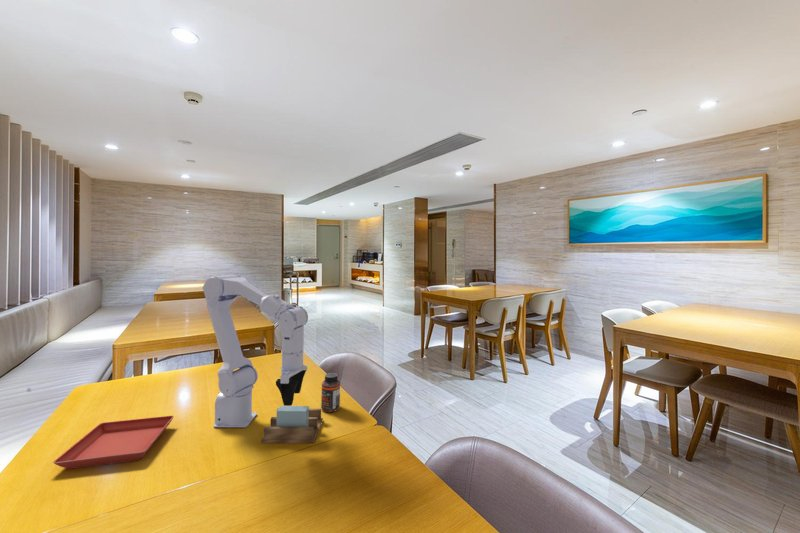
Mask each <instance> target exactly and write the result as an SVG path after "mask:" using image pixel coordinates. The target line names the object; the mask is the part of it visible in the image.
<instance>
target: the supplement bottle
mask: <svg viewBox="0 0 800 533" xmlns="http://www.w3.org/2000/svg"><path fill="white" fill-rule="evenodd" d="M320 398H321V404H320V405H321V408H320V409H321V411H322V412H325V411H326V412H325V413H332V412H331V411H334V412H336V411H335V410H337V409H338V408H339V409H340V408H341V407H340V405H341V402H340V401H341V382H340V380H339V379H338V374H337V373H336V372H327V373H326V374H325V375H324V380H323V381H322V382H321V397H320ZM339 409H338V410H339ZM338 410H337V411H338Z"/></svg>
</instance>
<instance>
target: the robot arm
mask: <svg viewBox="0 0 800 533" xmlns="http://www.w3.org/2000/svg"><path fill="white" fill-rule="evenodd" d="M202 290H203V293H204V297H205V301H206V306H207V311H208V314H209V317H210V321H211V325H212V328H213V331H214V334H215V338H216V341H217V346H218V349H219V352H220V355H221V358H222V363H223V364H222V365H221V366H220V368H219V369H218V371H217V376H218V383H217V384H218V389H219V393H218V394H217V395H216V397H215V401H214V424H213V428H247V427H248V426H249V425H250V424H251V422H252V421H253V419H255V417H256V416H257V414H258V413H257V412H253V410H252V409H253V395H252V394H253V389H254V385H255V384H256V383H257V381H258V377H259V375H258V374H259V373H258V371H257V369H256V368H255V367H254V365H253V363H252V359H249V358H247V357H245V356H244V355H243V351H242V347H241V344H240V341H239V338H238V334H237V331H236V327H235V324H234V320H233V317H232V314H231V310H230V306H231V305H232V303H233V302H234V301H236V299H238V297H239V296H241V297H243V298H245V299H246V300H248V301H250V302H252V303H254V304H256V305H257V306H259V310H260V312H261V313H263V314H265V315H267V317H269V318H271V319H273V320H274V321H275V322H277V325H278V327H279V328H280V335H281V338H282V339H281V367H280V374H281V375H280V376H279V377H280V378H278V379H276V381H275V385H276V387H277V389H278V390H279V392H280V395H281V399H282V403H283V406H293V404H294V397H295V394H300V393H301V390H302V386H303V381H304V378H305V375H306V373H307V371H308V365H305V364H304V345H305V344H304V338H305V336H304V334H305V330H304V328H305V325H306V324H307V323H308V319H309V315H308V312H307V310H306V309H305V308H303V306H293V304H292V303H290V302H289V303H288V302H287V301H285V300H284V299H282V298H280V297H281V296H280V295H278V294H268V295H267V294H265V293H264V292H263V291H262V290H260V289H259V288H258V287H256V286H254V285H253V284H251V283H250V282H249V281H248V279H247V278H246V277H244V276H242V275H241V274H238V273H234V274H228V275H227V274H226V275H210V276H209V277H207V278H206V280H205V282H204V284H203V286H202Z"/></svg>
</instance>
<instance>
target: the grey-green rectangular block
mask: <svg viewBox="0 0 800 533" xmlns="http://www.w3.org/2000/svg"><path fill="white" fill-rule="evenodd" d="M277 409H278V410H277ZM277 409H276V417H277V427H309V409H310V406H309V405H291V406H284V405H280V406H279V407H278V408H277Z"/></svg>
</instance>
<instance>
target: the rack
mask: <svg viewBox="0 0 800 533" xmlns="http://www.w3.org/2000/svg"><path fill="white" fill-rule="evenodd" d="M277 410H278V408H277V409H276V411H277ZM322 420H323V421H324V418H323V417H322V409H321V408H309V427H277V416H272V417H270V421H269V422H270V424H269V425H270V426H264V428H263V437H262V439H261V441H260V442H261V444H315V443H316V440H315V439H317V437H318V435H319V432H320V429H321V427H322V424H323V422H322ZM321 423H322V424H321ZM320 426H321V427H320ZM319 428H320V429H319ZM318 431H319V432H318ZM317 434H318V435H317ZM314 442H315V443H314Z"/></svg>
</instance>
